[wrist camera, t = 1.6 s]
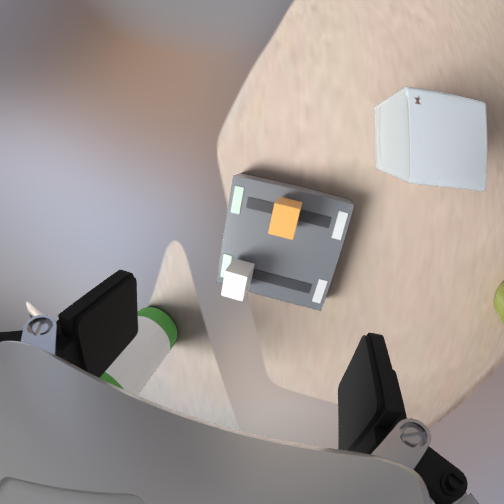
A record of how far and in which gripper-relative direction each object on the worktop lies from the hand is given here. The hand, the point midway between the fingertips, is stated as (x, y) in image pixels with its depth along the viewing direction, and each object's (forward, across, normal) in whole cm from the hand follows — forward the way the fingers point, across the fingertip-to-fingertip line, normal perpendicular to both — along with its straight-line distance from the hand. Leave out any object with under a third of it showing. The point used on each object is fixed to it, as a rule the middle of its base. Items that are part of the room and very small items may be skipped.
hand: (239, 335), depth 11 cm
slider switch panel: (+24, 0, +4) cm, 25 cm away
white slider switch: (+21, +4, +8) cm, 23 cm away
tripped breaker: (+21, 0, 0) cm, 21 cm away
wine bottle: (+25, +16, +22) cm, 38 cm away
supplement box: (+24, -11, -11) cm, 29 cm away
